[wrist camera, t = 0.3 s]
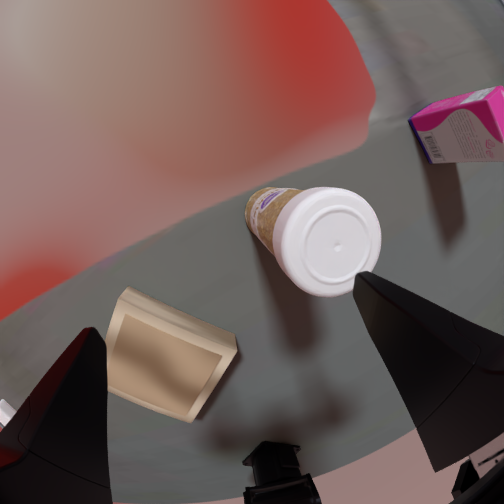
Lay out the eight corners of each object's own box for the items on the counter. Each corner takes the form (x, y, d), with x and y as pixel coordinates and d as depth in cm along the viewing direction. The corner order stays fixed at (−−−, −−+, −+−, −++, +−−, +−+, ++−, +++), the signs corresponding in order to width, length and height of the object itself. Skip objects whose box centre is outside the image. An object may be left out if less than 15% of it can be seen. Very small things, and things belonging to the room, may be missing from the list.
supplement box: (452, 143, 24) (524, 140, 13) (428, 164, 24) (509, 165, 13) (431, 101, 23) (503, 84, 12) (406, 118, 23) (486, 100, 12)
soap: (42, 431, 26) (36, 443, 23) (35, 438, 26) (30, 449, 24) (3, 396, 24) (-5, 406, 21) (-1, 406, 24) (-8, 415, 21)
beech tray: (192, 405, 27) (191, 424, 24) (102, 367, 24) (93, 384, 21) (234, 333, 25) (237, 351, 22) (128, 285, 23) (117, 298, 20)
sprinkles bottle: (262, 177, 22) (325, 163, 9) (305, 206, 23) (401, 229, 10) (233, 222, 23) (258, 266, 10) (277, 249, 24) (345, 318, 11)
